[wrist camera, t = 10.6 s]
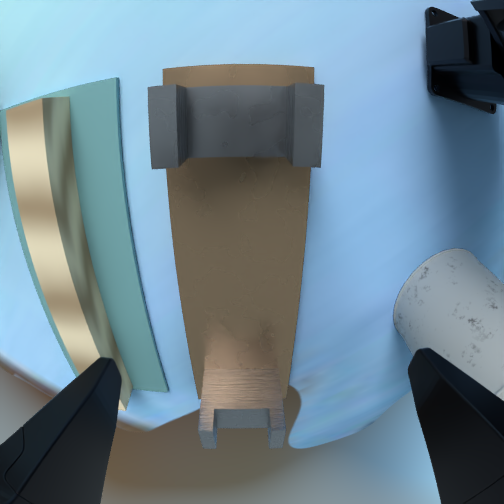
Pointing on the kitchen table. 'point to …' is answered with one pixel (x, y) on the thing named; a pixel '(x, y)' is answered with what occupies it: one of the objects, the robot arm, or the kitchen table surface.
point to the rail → (59, 231)
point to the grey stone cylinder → (456, 315)
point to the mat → (102, 226)
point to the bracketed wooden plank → (238, 227)
